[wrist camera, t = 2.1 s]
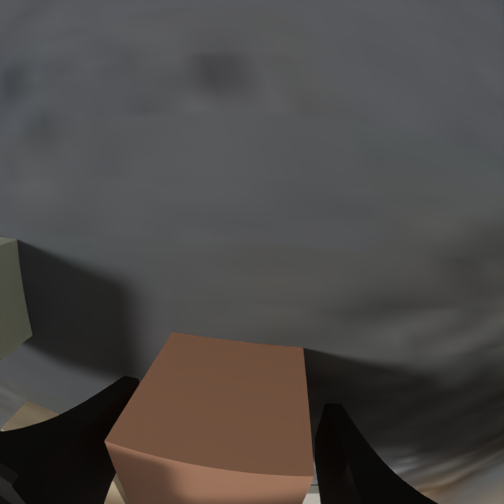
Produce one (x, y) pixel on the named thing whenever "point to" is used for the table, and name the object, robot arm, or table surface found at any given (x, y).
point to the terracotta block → (216, 426)
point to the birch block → (35, 414)
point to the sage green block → (11, 300)
